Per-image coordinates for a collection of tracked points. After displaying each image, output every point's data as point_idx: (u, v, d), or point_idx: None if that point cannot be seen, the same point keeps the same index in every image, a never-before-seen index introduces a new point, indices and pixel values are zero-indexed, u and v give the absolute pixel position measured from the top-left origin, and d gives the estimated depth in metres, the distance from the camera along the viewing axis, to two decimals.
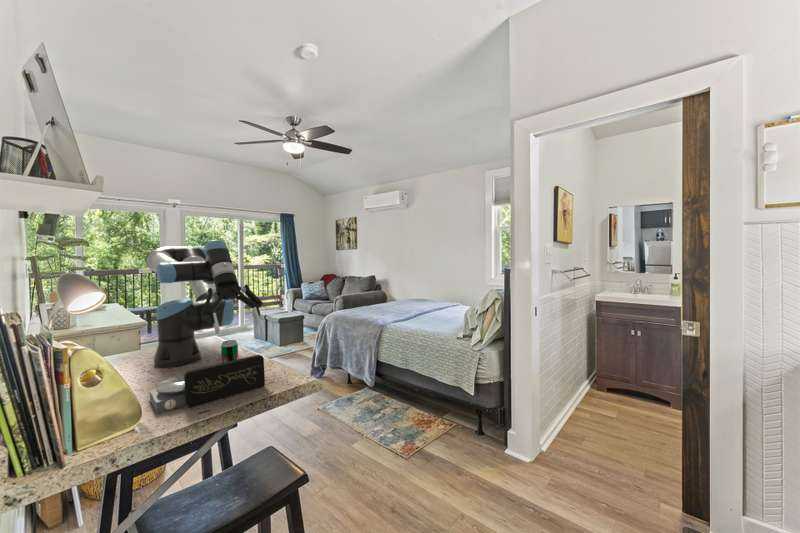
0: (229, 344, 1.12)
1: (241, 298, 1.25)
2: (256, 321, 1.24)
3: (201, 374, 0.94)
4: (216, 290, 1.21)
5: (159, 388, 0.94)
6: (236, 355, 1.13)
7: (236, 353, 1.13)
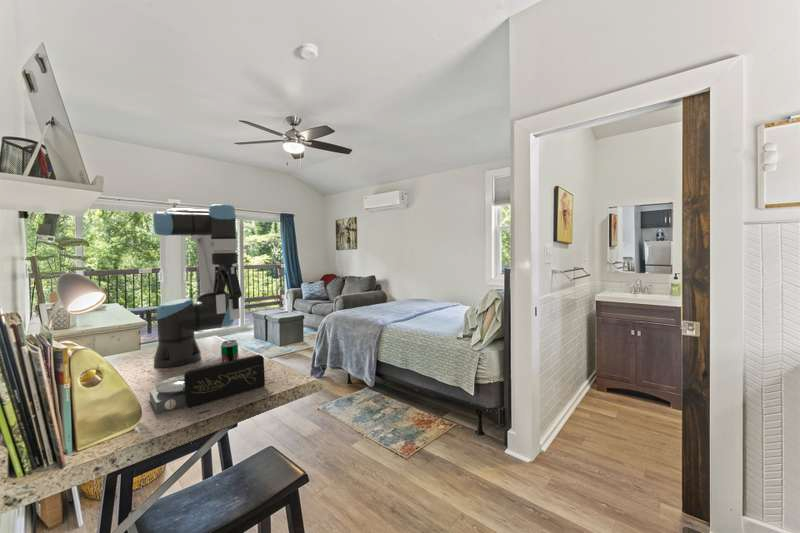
0: (229, 344, 1.12)
1: None
2: None
3: (201, 374, 0.94)
4: None
5: (159, 388, 0.94)
6: (236, 355, 1.13)
7: (236, 353, 1.13)
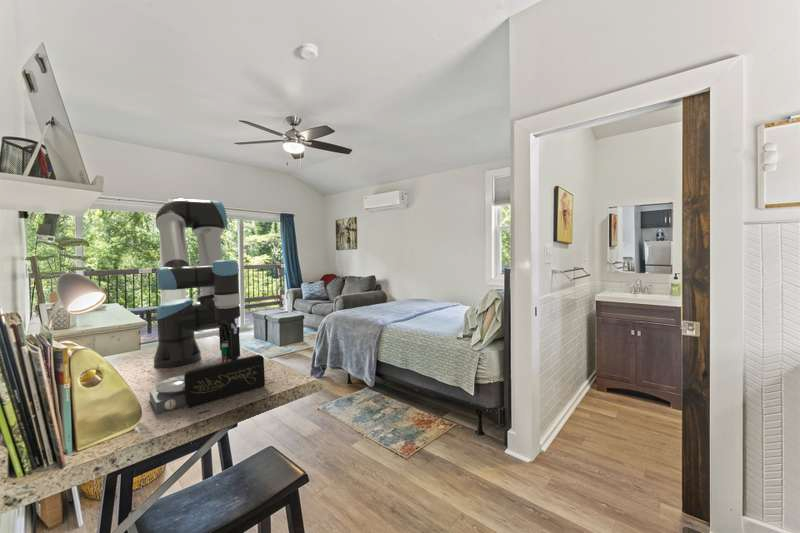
0: None
1: None
2: None
3: (201, 374, 0.94)
4: None
5: (159, 388, 0.94)
6: None
7: None
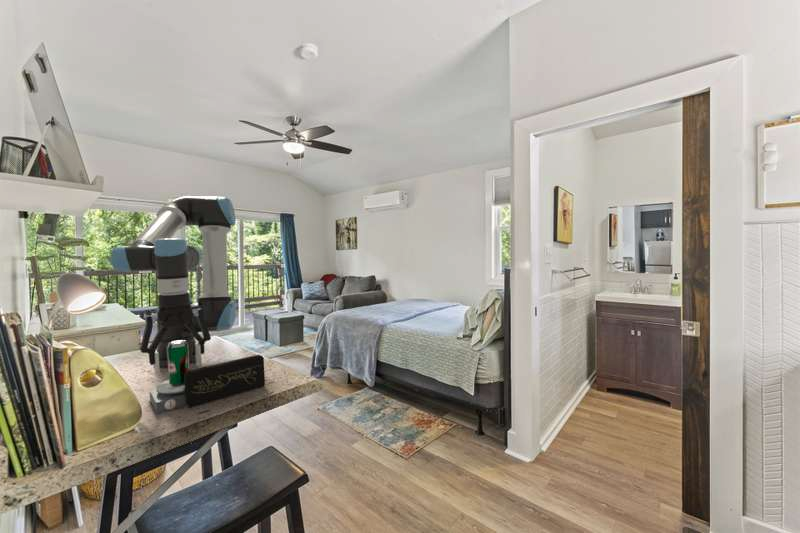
0: (186, 342, 0.98)
1: (187, 327, 0.98)
2: (197, 361, 1.01)
3: (201, 374, 0.94)
4: (158, 316, 0.93)
5: (159, 389, 0.94)
6: None
7: None
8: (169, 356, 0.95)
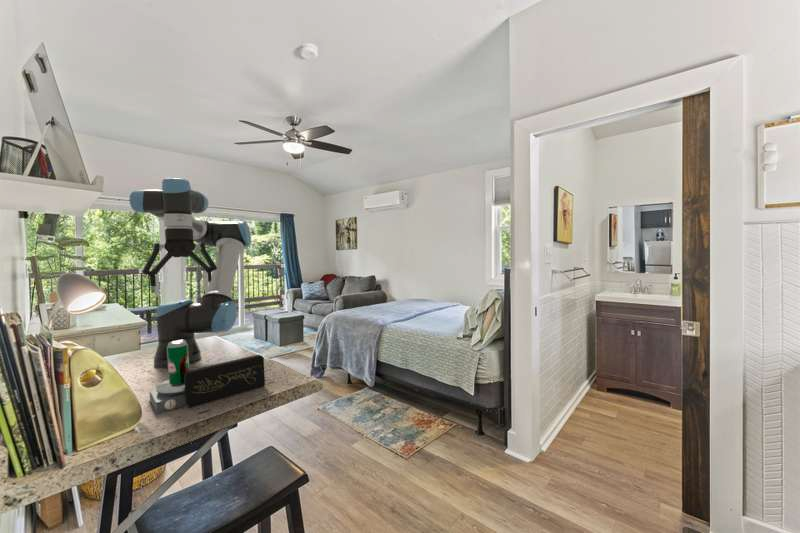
0: None
1: (193, 258, 1.11)
2: (204, 287, 1.14)
3: (201, 374, 0.94)
4: (165, 246, 1.05)
5: (159, 389, 0.94)
6: None
7: None
8: (169, 356, 0.95)
